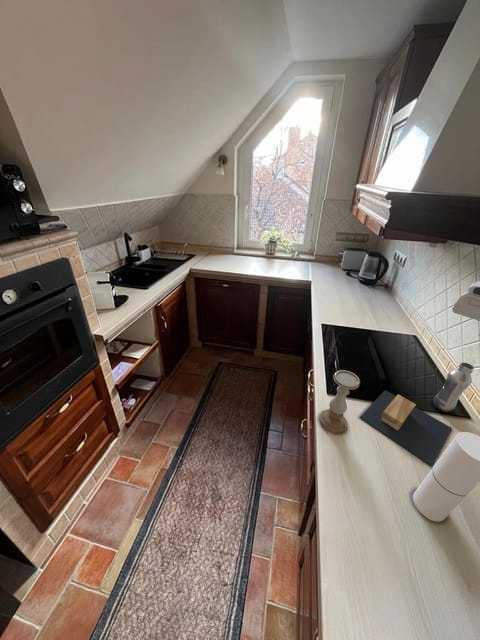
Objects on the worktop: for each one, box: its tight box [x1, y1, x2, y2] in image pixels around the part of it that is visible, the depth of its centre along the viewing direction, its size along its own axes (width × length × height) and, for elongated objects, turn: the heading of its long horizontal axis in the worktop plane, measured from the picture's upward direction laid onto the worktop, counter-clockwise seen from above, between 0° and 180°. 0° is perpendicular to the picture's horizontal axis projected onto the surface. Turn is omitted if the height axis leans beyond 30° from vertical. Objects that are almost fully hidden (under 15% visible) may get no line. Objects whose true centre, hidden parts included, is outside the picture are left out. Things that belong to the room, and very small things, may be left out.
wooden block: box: [381, 394, 417, 431], centre depth 88 cm, size 4×12×6 cm
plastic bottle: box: [432, 361, 475, 413], centre depth 88 cm, size 6×7×20 cm
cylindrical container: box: [412, 431, 480, 523], centre depth 59 cm, size 7×7×25 cm
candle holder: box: [319, 369, 361, 434], centre depth 82 cm, size 9×9×20 cm
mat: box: [359, 389, 452, 467], centre depth 87 cm, size 22×20×1 cm
